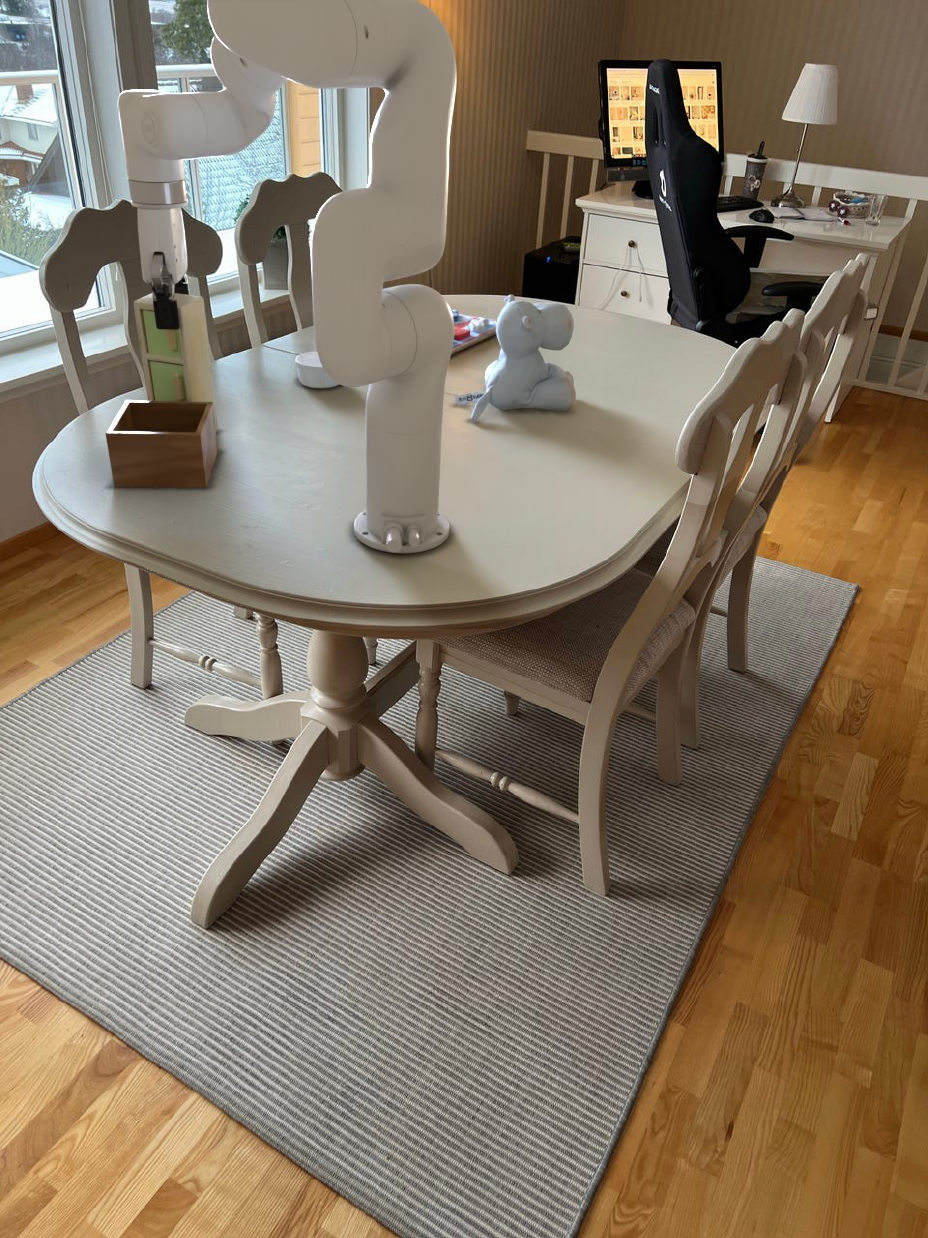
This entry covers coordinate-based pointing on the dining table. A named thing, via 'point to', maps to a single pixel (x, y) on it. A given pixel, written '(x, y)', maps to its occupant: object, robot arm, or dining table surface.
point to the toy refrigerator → (176, 353)
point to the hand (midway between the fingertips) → (174, 319)
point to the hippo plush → (527, 360)
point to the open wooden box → (162, 444)
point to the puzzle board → (470, 330)
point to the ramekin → (313, 371)
